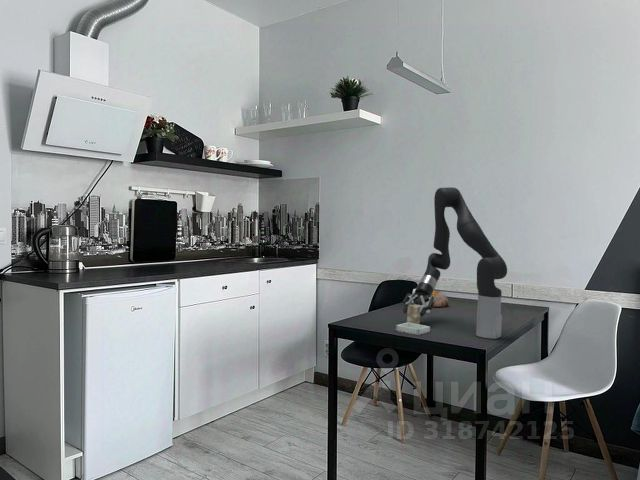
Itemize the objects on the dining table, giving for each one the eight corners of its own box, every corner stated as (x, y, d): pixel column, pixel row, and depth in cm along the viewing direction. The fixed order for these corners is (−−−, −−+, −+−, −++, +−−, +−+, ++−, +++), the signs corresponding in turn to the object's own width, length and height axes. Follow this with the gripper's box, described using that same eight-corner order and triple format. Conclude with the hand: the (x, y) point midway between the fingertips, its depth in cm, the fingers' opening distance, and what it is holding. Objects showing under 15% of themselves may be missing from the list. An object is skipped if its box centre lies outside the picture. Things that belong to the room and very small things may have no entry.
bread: (413, 307, 284) (413, 290, 283) (426, 303, 300) (425, 286, 300) (442, 309, 275) (441, 291, 275) (453, 305, 292) (452, 288, 292)
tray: (429, 332, 215) (430, 326, 215) (418, 335, 207) (418, 329, 207) (407, 327, 222) (407, 322, 222) (395, 330, 214) (395, 325, 214)
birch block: (419, 326, 227) (420, 306, 227) (415, 327, 224) (416, 307, 224) (410, 324, 230) (411, 305, 229) (406, 325, 227) (407, 305, 227)
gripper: (410, 279, 237) (396, 306, 229) (437, 283, 228) (424, 311, 219) (415, 290, 241) (401, 316, 233) (442, 293, 232) (429, 321, 224)
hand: (412, 313), depth 226 cm, fingers open, 8 cm apart
